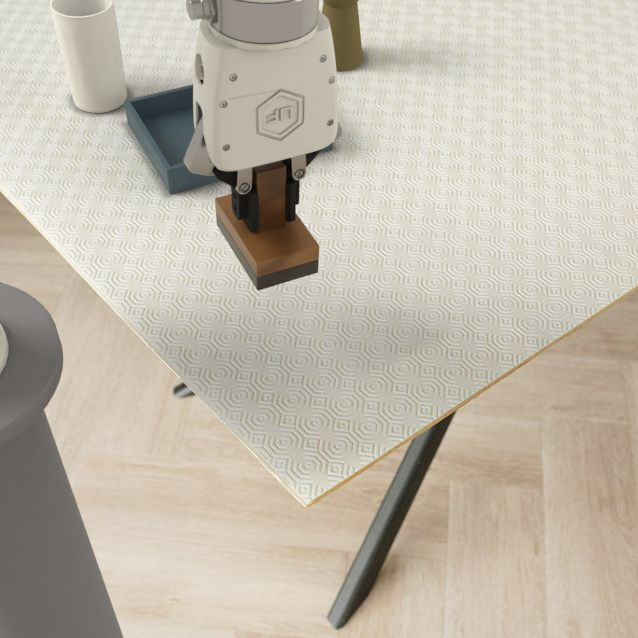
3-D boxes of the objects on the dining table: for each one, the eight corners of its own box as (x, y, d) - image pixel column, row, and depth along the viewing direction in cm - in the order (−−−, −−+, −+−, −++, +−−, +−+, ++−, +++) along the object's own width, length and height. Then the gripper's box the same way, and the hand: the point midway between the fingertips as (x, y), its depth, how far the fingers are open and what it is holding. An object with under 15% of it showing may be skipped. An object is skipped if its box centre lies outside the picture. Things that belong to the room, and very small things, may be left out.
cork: (369, 66, 114) (374, -19, 106) (324, 74, 113) (325, -12, 105) (353, 42, 118) (356, -41, 110) (308, 49, 117) (308, -35, 108)
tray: (170, 194, 96) (166, 170, 94) (127, 124, 104) (123, 100, 102) (332, 149, 102) (333, 126, 100) (280, 86, 111) (280, 63, 108)
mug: (138, 105, 107) (123, 8, 98) (83, 121, 104) (62, 23, 96) (106, 65, 113) (88, -30, 104) (53, 79, 110) (31, -17, 101)
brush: (257, 291, 74) (255, 203, 67) (216, 225, 79) (210, 137, 72) (318, 272, 76) (322, 185, 69) (274, 209, 81) (274, 122, 74)
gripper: (167, 53, 56) (188, 272, 70) (394, 8, 62) (373, 219, 75) (129, -2, 61) (156, 214, 74) (344, -39, 66) (333, 168, 80)
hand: (265, 215), depth 75 cm, fingers closed on brush, 2 cm apart
